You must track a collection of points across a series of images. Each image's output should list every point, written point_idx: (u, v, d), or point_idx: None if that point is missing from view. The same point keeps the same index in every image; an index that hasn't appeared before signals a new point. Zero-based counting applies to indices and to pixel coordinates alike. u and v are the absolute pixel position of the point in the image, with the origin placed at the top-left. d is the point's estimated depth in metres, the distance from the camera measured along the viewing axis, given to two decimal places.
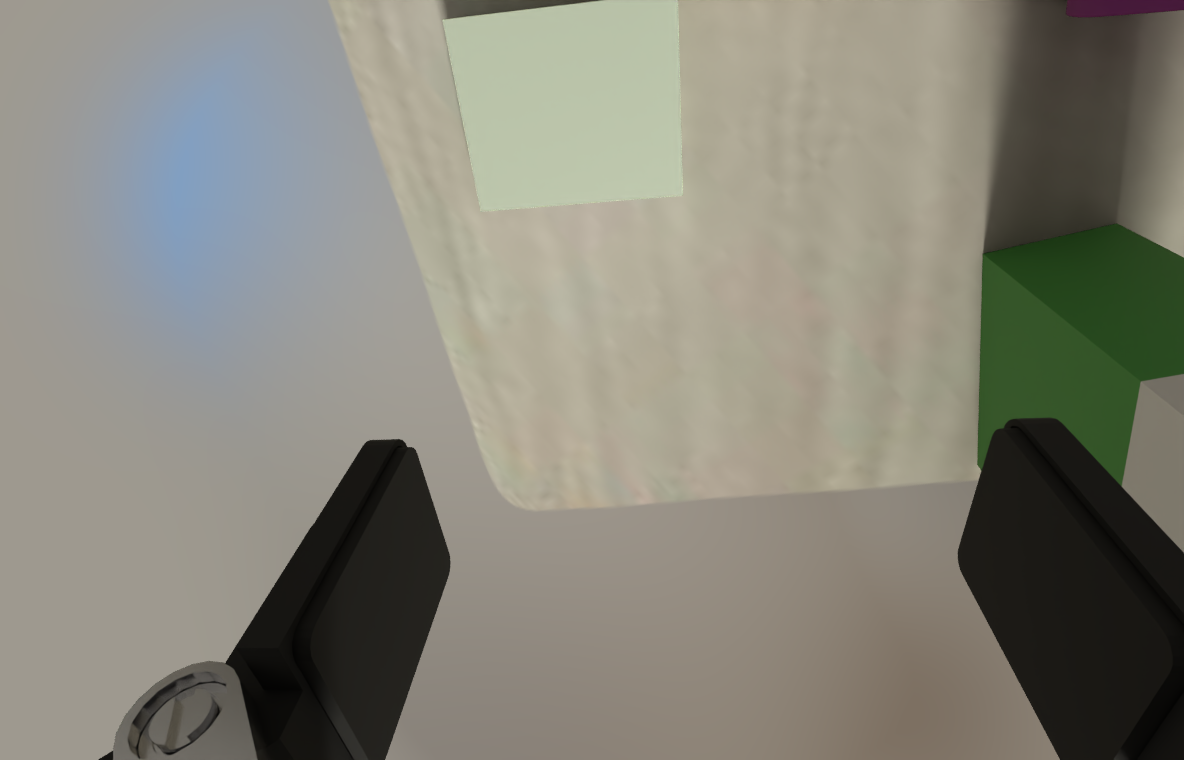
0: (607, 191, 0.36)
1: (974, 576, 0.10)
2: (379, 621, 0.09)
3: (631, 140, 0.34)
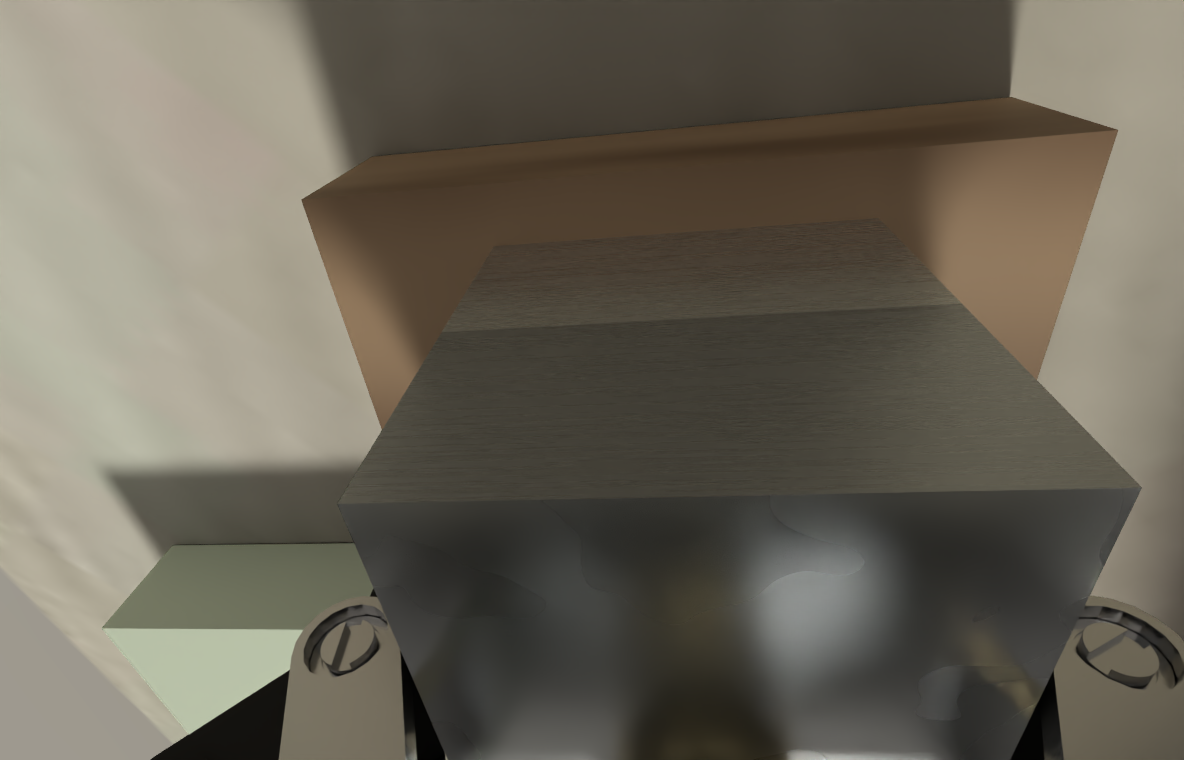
0: None
1: None
2: None
3: None
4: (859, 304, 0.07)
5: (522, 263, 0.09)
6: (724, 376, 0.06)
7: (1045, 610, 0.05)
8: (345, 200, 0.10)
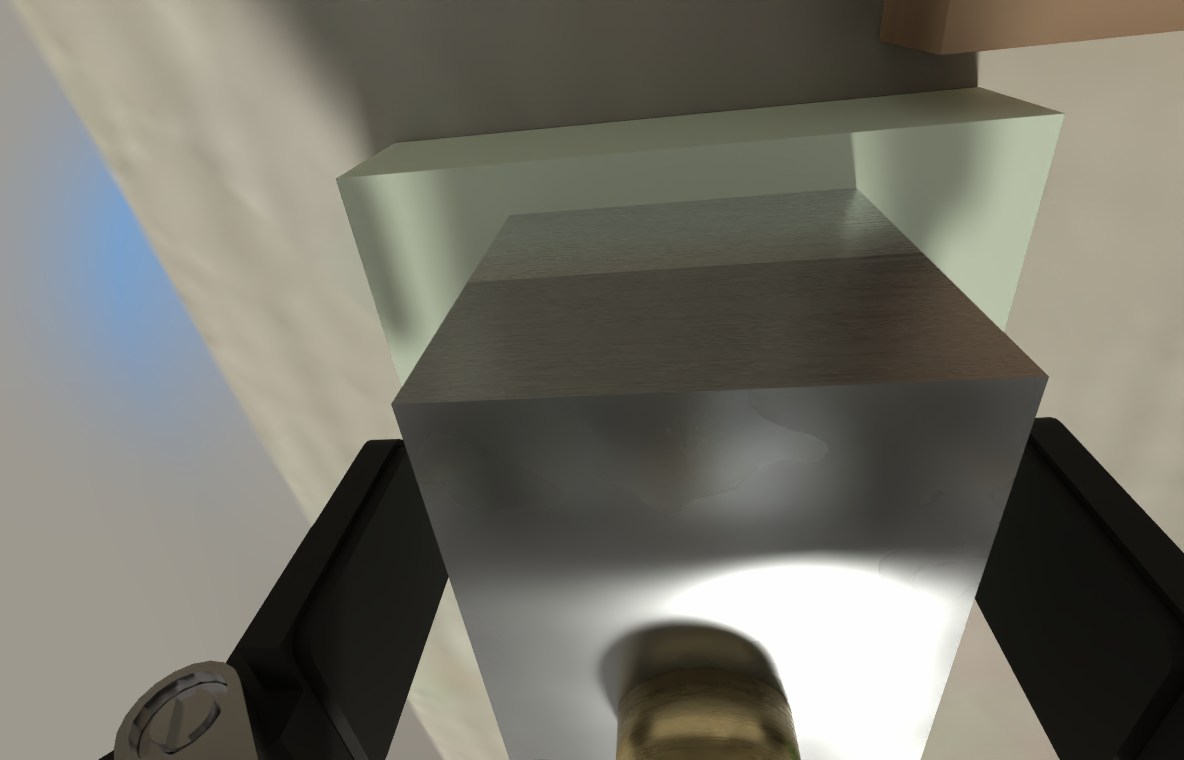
0: None
1: None
2: (379, 621, 0.09)
3: None
4: (834, 254, 0.08)
5: (536, 228, 0.10)
6: (714, 309, 0.07)
7: (980, 492, 0.06)
8: None
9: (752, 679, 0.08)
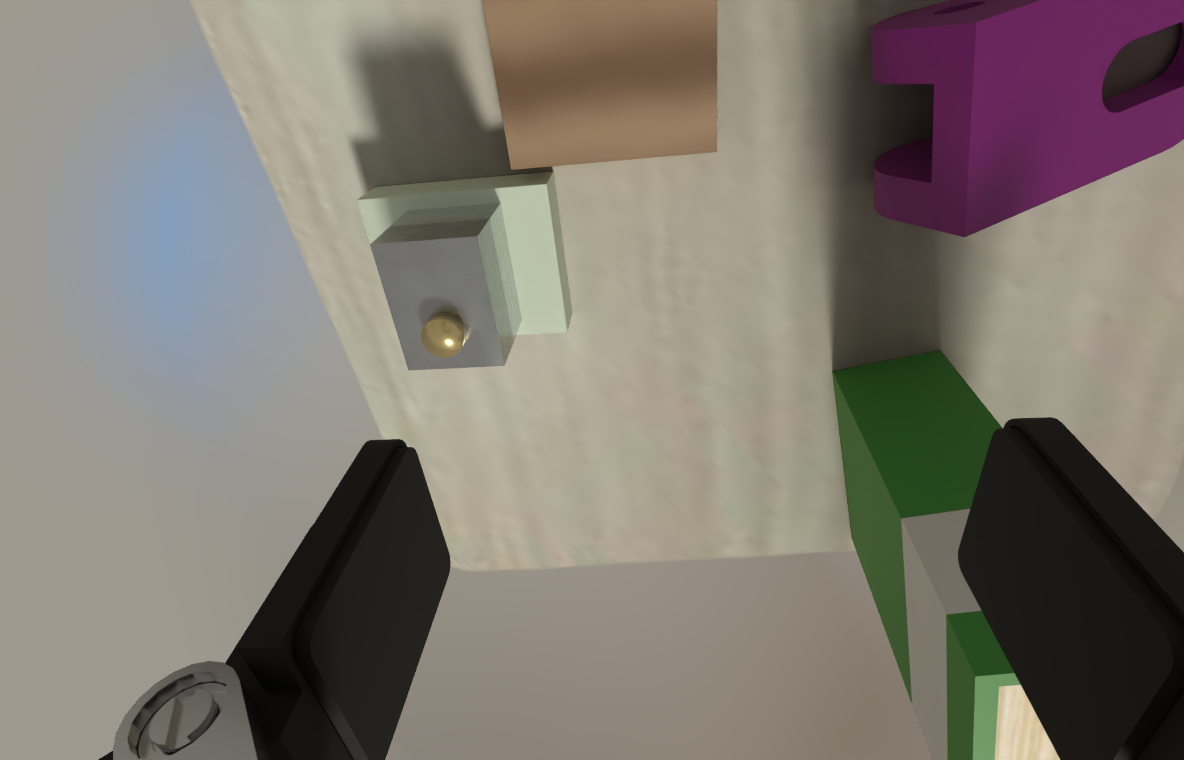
0: None
1: (974, 576, 0.10)
2: (379, 621, 0.09)
3: (520, 290, 0.41)
4: (472, 219, 0.36)
5: (412, 214, 0.38)
6: (437, 229, 0.35)
7: (477, 260, 0.34)
8: None
9: (453, 315, 0.35)
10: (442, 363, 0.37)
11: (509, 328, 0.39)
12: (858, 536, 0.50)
